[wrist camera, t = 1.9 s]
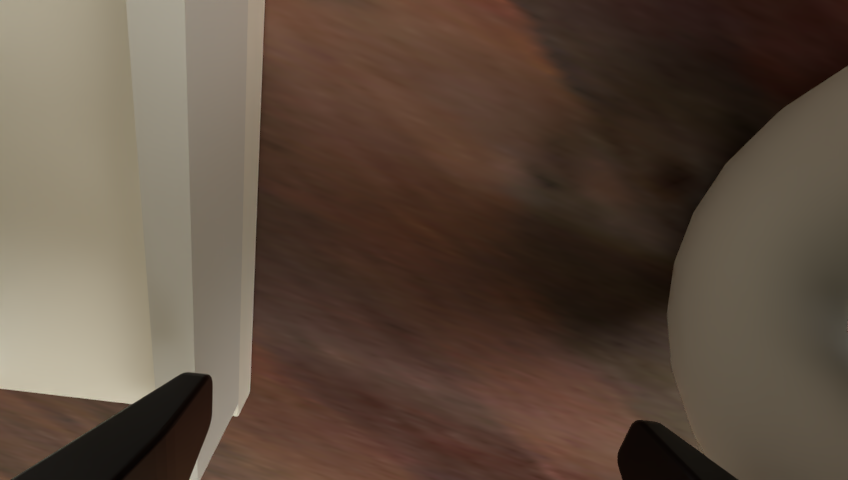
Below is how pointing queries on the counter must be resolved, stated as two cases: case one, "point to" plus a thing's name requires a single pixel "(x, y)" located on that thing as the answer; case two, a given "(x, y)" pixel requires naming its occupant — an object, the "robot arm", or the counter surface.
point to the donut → (770, 299)
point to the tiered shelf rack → (129, 197)
